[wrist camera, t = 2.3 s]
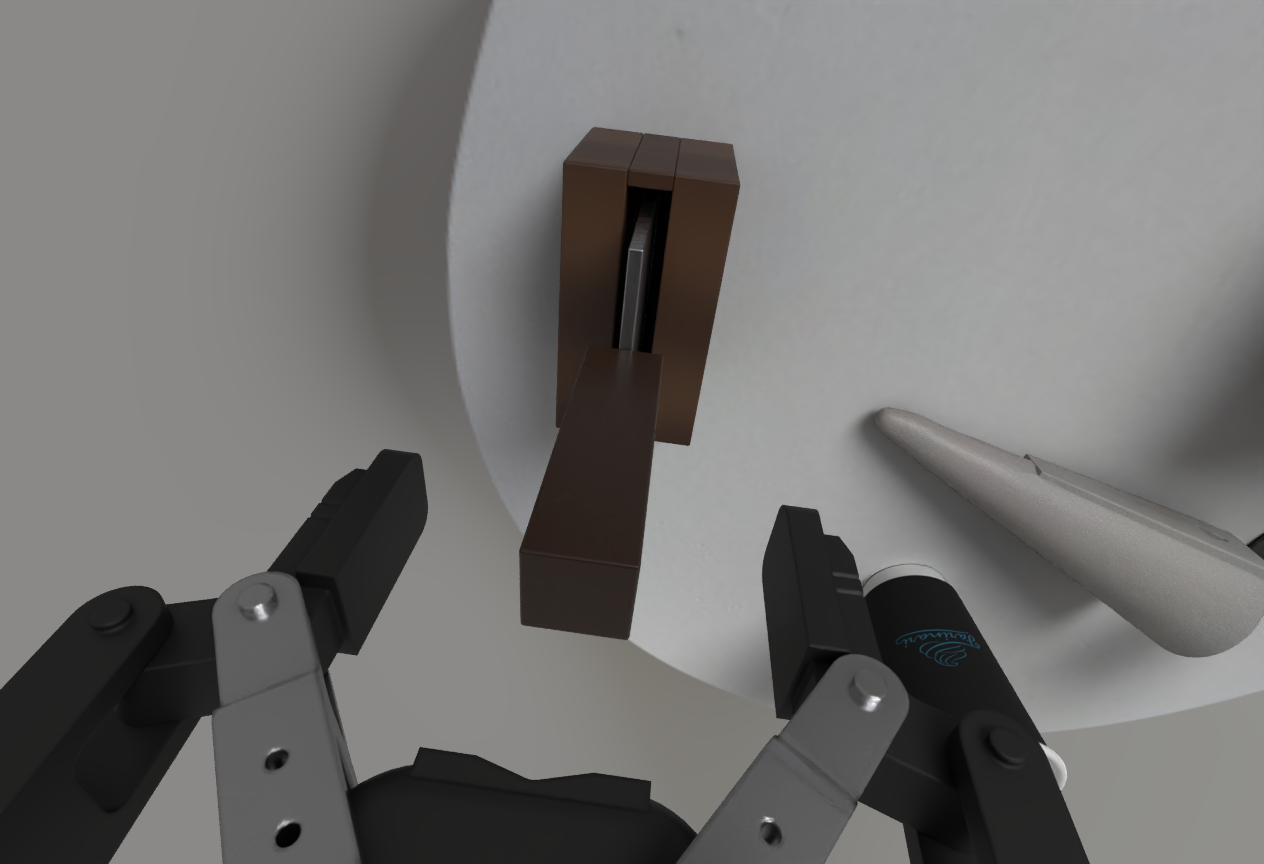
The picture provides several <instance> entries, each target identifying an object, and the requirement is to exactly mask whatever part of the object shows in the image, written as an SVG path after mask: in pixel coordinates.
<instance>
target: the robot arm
mask: <svg viewBox="0 0 1264 864" xmlns="http://www.w3.org/2000/svg"><path fill="white" fill-rule="evenodd" d="M427 513H428V501H427V495H426V487H425V479H424V472H423V464H422V459H421V456H420V455H419V454H418V453H411V452H403V451H396V450H389V449H384V450H382V451H381V452H380V453H379V454H378V455H377V457H376V458H375V460H374V461H373V462H372V464H371V465H370V467H369V468H368V469H367V470H364V469H354V470H353V471H351V472H350V473H348V474H347V475H345V476H344V477H343V478H341V479H339V480H338V481H336V482H335V483H334V484H333V486H332V487H331V489H330V490H329V491H328V492H327V494H326V495H325V496H324V498H323V499H322V502H321V503H319V504H318V505H317V507H316V508H315V509H314V511H313V512H312V513H311V517H310V518H307V520H306V521H305V522H304V524H303V525H302V526H301V528H300V529H299V530H298V532H297V533H296V534H295V535H294V537H293V538H292V539H291V541H290V542H289V543H288V545H287V546H286V547H285V549H284V550H283V551H282V552H281V554H280V555H279V556H278V558H277V559H276V560H275V562H274V563H273V564H272V565H271V567H270V568H269V569H268V570H267V572H263V573H258V574H254V575H251V576H249V577H246V578H244V579H241V580H239V581H238V582H236V583H234V584H233V585H231V586H230V587H229V588H228V589H226V590H225V591H224V592H223V593H222V594H221V595H220V597H219V598H214V599H207V600H199V601H191V602H183V603H175V604H167V605H166V604H165V602H164V600H163V599H162V597H161V595H160V594H159V593H158V592H157V591H156V590H154V589H152V588H149V587H144V586H129V587H123V588H118V589H114V590H111V591H108V592H106V593H103V594H101V595H99V596H97V597H95V598H93V599H92V600H90V601H88V602H86V603H85V604H84V605H82V606H81V607H80V608H78V609H77V610H76V611H75V612H74V613H73V614H72V615H71V616H70V617H69V618H68V619H67V620H66V621H65V622H64V623H63V624H62V626H60V627H59V629H58V630H57V631H56V632H55V633H54V634H53V635H52V636H51V637H50V638H49V639H48V640H47V641H46V642H45V643H44V644H43V645H42V646H41V648H40V649H39V650H38V651H37V652H36V653H35V654H34V655H33V656H32V657H31V658H30V659H29V660H28V661H27V662H26V663H25V664H24V665H23V667H22V668H21V669H20V670H19V671H18V672H17V673H16V674H15V675H14V676H13V677H12V678H11V679H10V680H9V681H8V682H7V683H6V684H5V685H4V687H3V688H2V689H1V690H0V864H109V862H110V860H111V859H112V857H113V856H114V854H115V852H116V851H117V849H118V848H119V846H120V844H121V843H122V841H123V840H124V838H125V837H126V835H127V833H128V832H129V830H130V829H131V827H132V826H133V824H134V822H135V821H136V819H137V818H138V816H139V815H140V813H141V811H142V810H143V808H144V807H145V805H146V804H147V802H148V800H149V799H150V797H151V795H152V794H153V792H154V791H155V789H156V788H157V786H158V785H159V783H160V781H161V780H162V778H163V777H164V775H165V774H166V772H167V770H168V769H169V767H170V766H171V764H172V762H173V761H174V759H175V758H176V756H177V755H178V753H179V751H180V750H181V748H182V747H183V745H184V743H185V742H186V740H187V739H188V737H189V736H190V734H191V732H192V731H193V729H194V728H195V726H196V725H197V723H198V721H199V720H200V718H201V717H203V716H209V715H212V733H213V746H214V758H215V771H216V783H217V795H218V808H219V821H220V835H221V847H222V860H223V864H824V863H825V862H826V860H827V858H828V856H829V854H830V853H831V851H832V849H833V847H834V846H835V844H836V842H837V841H838V839H839V837H840V835H841V833H842V832H843V830H844V828H845V827H846V825H847V823H848V821H849V819H850V818H851V816H852V814H853V812H854V810H855V808H856V806H857V804H858V803H857V802H858V801H859V802H861V803H863V804H865V805H867V806H869V807H871V808H873V809H875V810H877V811H879V812H881V813H883V814H885V815H887V816H889V817H891V818H893V819H895V820H897V821H899V822H901V823H903V826H904V832H905V838H906V842H907V848H908V853H909V858H910V864H1090V863H1089V861H1088V858H1087V856H1086V853H1085V851H1084V849H1083V846H1082V843H1081V841H1080V838H1079V836H1078V833H1077V831H1076V828H1075V826H1074V823H1073V821H1072V818H1071V816H1070V813H1069V811H1068V808H1067V806H1066V803H1065V801H1064V798H1063V796H1062V793H1061V791H1060V788H1059V786H1058V783H1057V780H1056V778H1055V775H1054V773H1053V770H1052V768H1051V765H1050V763H1049V760H1048V758H1047V756H1046V754H1045V752H1044V750H1043V748H1042V747H1041V745H1040V744H1039V742H1038V741H1037V740H1036V739H1035V737H1034V736H1033V735H1032V734H1031V733H1030V732H1029V731H1028V730H1027V729H1026V728H1025V727H1023V726H1022V725H1021V724H1020V723H1018V722H1017V721H1015V720H1014V719H1012V718H1010V717H1008V716H1007V715H1005V714H1002V713H1000V712H997V711H993V710H988V709H976V710H972V711H970V712H968V713H967V714H966V715H965V716H964V717H963V718H962V719H960V718H957V717H955V716H953V715H950V714H948V713H946V712H944V711H941V710H939V709H937V708H934V707H932V706H930V705H928V704H925V703H923V702H921V701H919V700H917V699H916V698H914V697H913V696H911V695H910V694H908V693H907V691H906V689H905V687H904V685H903V683H902V682H901V680H900V679H899V678H898V676H897V675H896V674H895V673H894V672H893V671H892V670H891V669H890V668H888V667H887V666H886V665H884V664H883V661H882V658H881V655H880V651H879V648H878V644H877V640H876V637H875V633H874V629H873V626H872V622H871V618H870V615H869V611H868V607H867V604H866V600H865V597H863V589H862V585H861V582H860V580H859V574H858V571H857V567H856V563H855V559H854V556H853V554H852V553H851V552H850V550H849V549H848V548H847V546H846V545H845V544H844V543H843V541H842V540H841V539H840V537H839V536H832V535H825V534H824V533H823V529H822V525H821V520H820V516H819V513H818V511H817V510H816V509H809V508H802V507H795V506H788V505H782V506H781V507H780V509H779V512H778V514H777V517H776V521H775V524H774V527H773V530H772V533H771V536H770V539H769V542H768V545H767V548H766V551H765V555H764V560H763V568H762V582H763V592H764V602H765V612H766V621H767V631H768V641H769V650H770V660H771V670H772V679H773V689H774V699H775V708H776V717H777V718H780V719H788V720H790V721H789V722H788V724H787V725H786V726H785V728H784V729H783V730H782V731H781V733H780V734H779V735H778V736H777V735H775V736H773V737H772V738H771V739H770V740H769V742H768V743H767V744H766V746H765V747H764V748H763V749H762V751H761V752H760V753H759V755H758V756H757V757H756V759H755V760H754V761H753V762H752V764H751V765H750V766H749V768H748V769H747V770H746V772H745V773H744V774H743V776H742V777H741V778H740V780H739V781H738V782H737V783H736V785H735V786H734V787H733V789H732V790H731V791H730V793H729V794H728V795H727V797H726V798H725V799H724V801H723V802H722V803H721V805H720V806H719V807H718V809H717V810H716V811H715V813H714V814H713V815H712V816H711V818H710V819H709V820H708V822H707V823H706V824H705V826H704V827H703V828H702V830H701V831H700V832H699V834H698V835H697V833H696V832H695V831H694V830H693V829H692V828H691V827H690V826H689V825H688V824H687V823H686V822H685V821H684V820H683V819H681V818H680V817H679V816H678V815H676V814H675V813H674V812H673V811H671V810H670V809H668V808H666V807H665V806H663V805H662V804H660V803H658V802H656V801H654V800H651V799H650V790H651V781H646V780H640V779H633V778H626V777H619V776H612V775H606V774H599V773H589V774H581V775H572V776H564V777H557V778H549V779H541V780H529V779H527V778H524V777H522V776H520V775H518V774H516V773H514V772H511V771H509V770H507V769H505V768H503V767H500V766H498V765H496V764H494V763H492V762H490V761H487V760H485V759H483V758H481V757H479V756H476V755H470V754H463V753H457V752H449V751H443V750H436V749H429V748H423V747H420V748H419V751H418V753H417V756H416V759H415V761H414V764H413V765H409V766H404V767H400V768H396V769H392V770H389V771H386V772H384V773H381V774H378V775H376V776H374V777H372V778H370V779H368V780H366V781H364V782H362V783H360V784H358V782H357V779H356V775H355V772H354V768H353V765H352V762H351V758H350V754H349V751H348V747H347V742H346V739H345V735H344V730H343V726H342V722H341V718H340V714H339V710H338V706H337V701H336V697H335V693H334V690H333V686H332V681H331V677H330V673H329V670H328V668H329V667H330V665H331V663H332V661H333V659H334V658H335V656H336V654H337V653H344V654H351V655H358V653H359V651H360V649H361V647H362V645H363V643H364V641H365V640H366V638H367V636H368V634H369V632H370V630H371V628H372V626H373V624H374V622H375V621H376V619H377V617H378V615H379V613H380V611H381V609H382V607H383V605H384V604H385V602H386V600H387V598H388V596H389V594H390V592H391V590H392V589H393V587H394V584H395V583H396V581H397V579H398V577H399V575H400V573H401V572H402V570H403V568H404V566H405V564H406V562H407V560H408V558H409V556H410V555H411V553H412V551H413V549H414V547H415V545H416V543H417V541H418V539H419V537H420V536H421V534H422V532H423V529H424V526H425V524H426V520H427Z"/></svg>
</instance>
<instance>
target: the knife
mask: <svg viewBox="0 0 1264 864" xmlns="http://www.w3.org/2000/svg"><path fill="white" fill-rule="evenodd" d="M660 195H661V190H656V189H648V188H647V189H646V193H645V196H644V199H643V203H642V206H641V209H640V213H639V216H638V219H637V223H636V226H635V229H634V233H633V236H632V239H631V243H630V246H629V249H628V260H627V270H626V281H625V291H624V302H623V312H622V322H621V333H620V343H619V349H615V348H608V347H600V346H593V345H588V347H587V349H586V352H585V355H584V358H583V361H582V364H581V367H580V370H579V373H578V376H577V379H576V382H575V385H574V388H573V391H572V394H571V397H570V400H569V403H568V406H567V409H566V412H565V415H564V418H563V421H562V424H561V427H560V430H559V433H558V436H557V439H556V442H555V445H554V448H553V451H552V454H551V457H550V460H549V463H548V466H547V469H546V472H545V475H544V478H543V481H542V484H541V487H540V490H539V493H538V496H537V499H536V502H535V505H534V508H533V511H532V514H531V517H530V520H529V523H528V526H527V529H526V532H525V535H524V538H523V541H522V545H521V547H520V550H519V556H520V613H521V614H520V615H521V624H522V625H525V626H532V627H538V628H545V629H553V630H559V631H566V632H574V633H580V634H587V635H594V636H601V637H608V638H615V639H622V640H628V638H629V636H630V630H631V623H632V617H633V611H634V604H635V598H636V592H637V585H638V579H639V573H640V566H641V557H642V548H643V539H644V530H645V521H646V512H647V503H648V494H649V485H650V476H651V467H652V458H653V449H654V440H655V431H656V422H657V413H658V404H659V395H660V386H661V377H662V368H663V359H664V357H663V355H660V354H653V353H645V352H641V350H642V344H643V336H644V327H645V319H646V311H647V303H648V294H649V286H650V278H651V270H652V261H653V253H654V245H655V237H656V228H657V220H658V212H659V204H660Z"/></svg>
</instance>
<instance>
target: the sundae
mask: <svg viewBox="0 0 1264 864" xmlns="http://www.w3.org/2000/svg"><path fill="white" fill-rule="evenodd" d="M1249 548H1250V549H1251V550H1252V551H1254V552H1255V553H1256V554H1257V555H1258V556H1259V557H1261V558H1262V559H1263V560H1264V536H1262V537H1261V538H1260V539H1258V540H1257V541H1255V542H1254V543H1253V544H1252V545H1250V546H1249Z"/></svg>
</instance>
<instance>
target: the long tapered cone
mask: <svg viewBox="0 0 1264 864" xmlns="http://www.w3.org/2000/svg"><path fill="white" fill-rule="evenodd" d="M875 422H876V425H877V427H878V428H879V430H880V431H881V432H882V433H883V434H885V435H886V436H887V437H888V438H890V439H891V440H892V441H893V442H895V443H896V444H897V445H898V446H900V447H901V448H902V449H903V450H905V451H906V452H907V453H908V454H910V455H911V456H912V457H913V458H914V459H916V460H917V461H918V462H919V463H920V464H922V465H923V466H924V467H926V468H927V469H928V470H929V471H931V472H932V473H933V474H935V475H936V476H937V477H939V478H940V479H941V480H943V481H944V482H945V483H947V484H948V485H949V486H950V487H952V488H953V489H954V490H956V491H957V492H958V493H960V494H961V495H962V496H964V497H965V498H966V499H968V500H969V501H970V502H972V503H973V504H974V505H976V506H977V507H978V508H980V509H981V510H982V511H983V512H985V513H986V514H987V515H989V516H990V517H991V518H993V519H994V520H995V521H997V522H998V523H999V524H1001V525H1002V526H1003V527H1005V528H1006V529H1007V530H1009V531H1010V532H1011V533H1013V534H1014V535H1015V536H1017V537H1018V538H1019V539H1021V540H1022V541H1023V542H1024V543H1026V544H1027V545H1028V546H1030V547H1031V548H1032V549H1034V550H1035V551H1036V552H1038V553H1039V554H1040V555H1042V556H1043V557H1044V558H1046V559H1047V560H1048V561H1050V562H1051V563H1052V564H1054V565H1055V566H1056V567H1057V568H1059V569H1060V570H1061V571H1063V572H1064V573H1065V574H1067V575H1068V576H1069V577H1070V578H1072V579H1073V580H1074V581H1076V582H1077V583H1078V584H1080V585H1081V586H1082V587H1084V588H1085V589H1086V590H1088V591H1089V592H1090V593H1092V594H1093V595H1094V596H1096V597H1097V598H1098V599H1100V600H1101V601H1102V602H1104V603H1105V604H1106V605H1108V606H1109V607H1110V608H1112V609H1113V610H1114V611H1115V612H1117V613H1118V614H1119V615H1120V616H1122V617H1123V618H1124V619H1125V620H1127V621H1128V622H1129V623H1131V624H1132V625H1133V626H1135V627H1136V628H1137V629H1139V630H1140V631H1141V632H1143V633H1144V634H1145V635H1147V636H1148V637H1149V638H1151V639H1152V640H1153V641H1155V642H1156V643H1157V644H1158V645H1160V646H1161V647H1163V648H1164V649H1166V650H1168V651H1169V652H1172V653H1174V654H1177V655H1181V656H1186V657H1207V656H1212V655H1216V654H1219V653H1222V652H1224V651H1226V650H1229V649H1230V648H1232V647H1234V646H1236V645H1237V644H1239V643H1240V642H1241V641H1243V640H1244V639H1245V638H1246V637H1247V636H1248V635H1249V634H1250V633H1251V632H1252V631H1253V630H1254V629H1255V627H1256V626H1257V625H1258V623H1259V622H1260V620H1261V618H1262V616H1263V614H1264V560H1263V559H1262V558H1261V557H1259V556H1258V555H1257V554H1256V553H1255V552H1254V551H1252V550H1251V549H1250V548H1249V547H1247V546H1246V545H1245V544H1244V543H1242V542H1241V541H1240V540H1239V539H1237V538H1236V537H1235V536H1234V535H1232V534H1231V533H1229V532H1227V531H1225V530H1222V529H1220V528H1217V527H1215V526H1212V525H1209V524H1207V523H1204V522H1202V521H1199V520H1196V519H1194V518H1191V517H1189V516H1186V515H1183V514H1181V513H1178V512H1176V511H1173V510H1171V509H1168V508H1165V507H1163V506H1160V505H1158V504H1155V503H1152V502H1150V501H1147V500H1145V499H1142V498H1139V497H1137V496H1134V495H1132V494H1129V493H1127V492H1124V491H1121V490H1119V489H1116V488H1114V487H1111V486H1108V485H1106V484H1103V483H1101V482H1098V481H1095V480H1093V479H1090V478H1088V477H1085V476H1083V475H1080V474H1077V473H1075V472H1072V471H1070V470H1067V469H1064V468H1062V467H1059V466H1057V465H1054V464H1051V463H1049V462H1046V461H1044V460H1041V459H1039V458H1036V457H1033V456H1031V455H1028V454H1026V455H1025V456H1024V457H1023V458H1022V457H1020V456H1017V455H1014V454H1012V453H1009V452H1007V451H1005V450H1002V449H1000V448H998V447H995V446H993V445H991V444H988V443H985V442H983V441H980V440H977V439H975V438H972V437H969V436H966V435H964V434H961V433H959V432H956V431H954V430H951V429H949V428H946V427H944V426H941V425H939V424H937V423H935V422H933V421H931V420H929V419H927V418H925V417H923V416H920V415H917V414H914V413H911V412H908V411H903V410H898V409H893V408H882V409H880V410H879V411H878V413H877V414H876V418H875Z"/></svg>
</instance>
